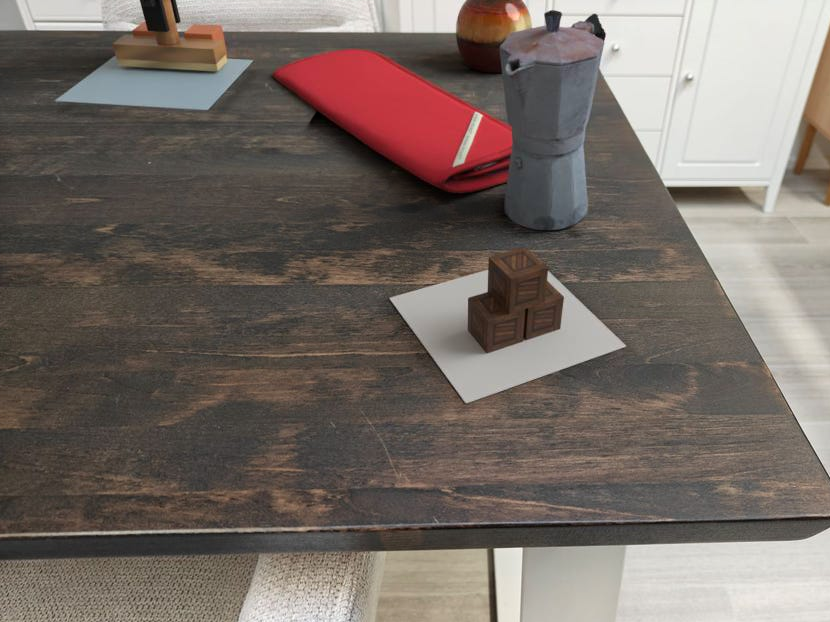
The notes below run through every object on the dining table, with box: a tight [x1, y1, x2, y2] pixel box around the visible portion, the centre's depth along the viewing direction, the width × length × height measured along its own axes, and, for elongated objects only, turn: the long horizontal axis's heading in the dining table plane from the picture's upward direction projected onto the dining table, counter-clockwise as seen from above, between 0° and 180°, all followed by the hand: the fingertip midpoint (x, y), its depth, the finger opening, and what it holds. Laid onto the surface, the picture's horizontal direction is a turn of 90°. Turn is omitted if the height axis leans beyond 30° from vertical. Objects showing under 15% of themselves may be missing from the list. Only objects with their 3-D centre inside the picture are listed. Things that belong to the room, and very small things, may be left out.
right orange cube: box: [183, 23, 228, 56], centre depth 106 cm, size 4×4×4 cm
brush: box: [112, 0, 228, 71], centre depth 99 cm, size 14×4×14 cm, turn 86°
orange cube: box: [131, 21, 155, 36], centre depth 106 cm, size 4×4×4 cm
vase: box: [455, 0, 533, 74], centre depth 106 cm, size 11×11×15 cm
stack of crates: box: [388, 246, 627, 404], centre depth 62 cm, size 15×15×7 cm
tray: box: [54, 55, 254, 111], centre depth 101 cm, size 20×18×1 cm
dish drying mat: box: [271, 48, 513, 194], centre depth 93 cm, size 16×41×4 cm, turn 36°
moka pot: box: [500, 9, 607, 231], centre depth 72 cm, size 10×15×20 cm, turn 145°
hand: (164, 25), depth 100 cm, fingers closed on brush, 3 cm apart
